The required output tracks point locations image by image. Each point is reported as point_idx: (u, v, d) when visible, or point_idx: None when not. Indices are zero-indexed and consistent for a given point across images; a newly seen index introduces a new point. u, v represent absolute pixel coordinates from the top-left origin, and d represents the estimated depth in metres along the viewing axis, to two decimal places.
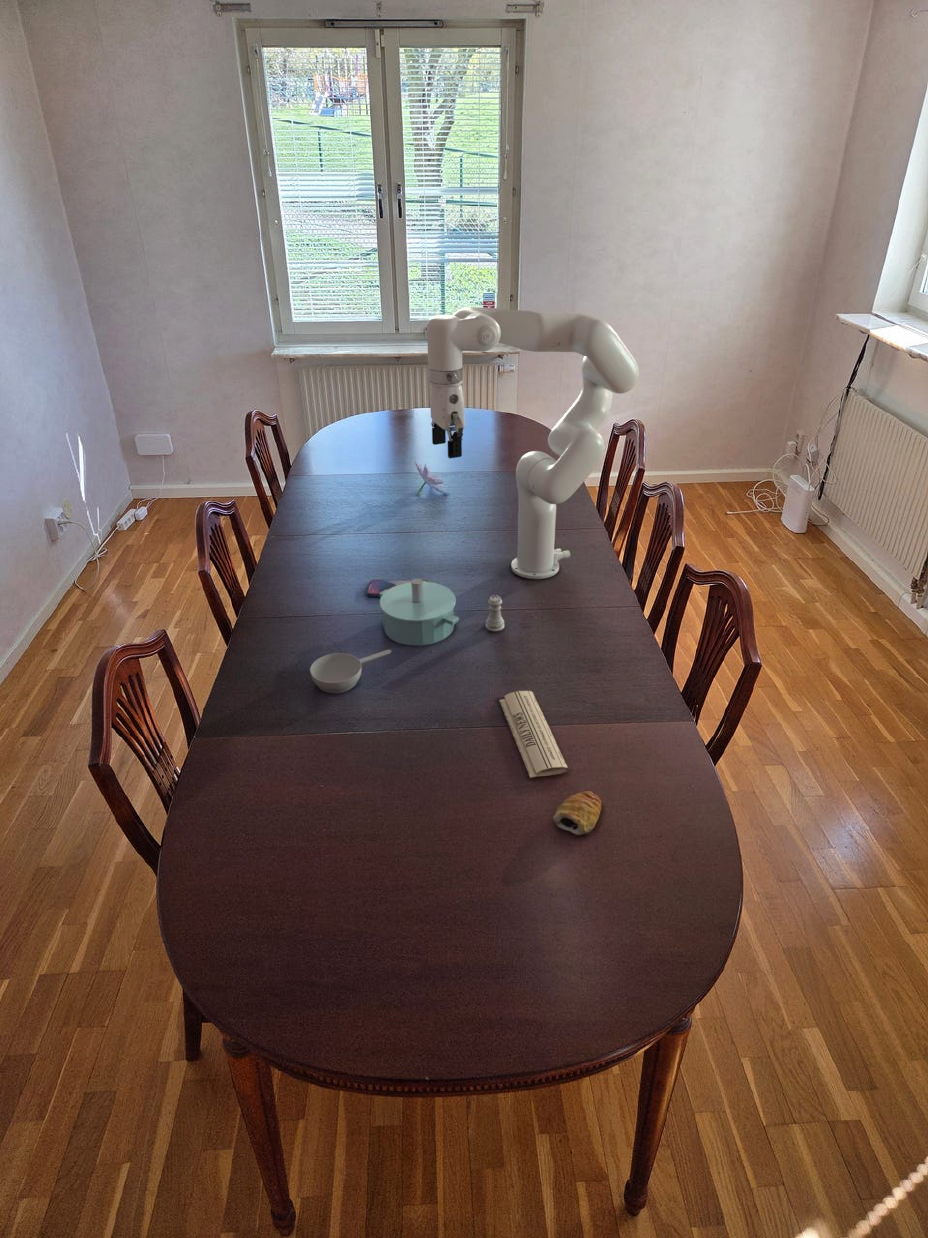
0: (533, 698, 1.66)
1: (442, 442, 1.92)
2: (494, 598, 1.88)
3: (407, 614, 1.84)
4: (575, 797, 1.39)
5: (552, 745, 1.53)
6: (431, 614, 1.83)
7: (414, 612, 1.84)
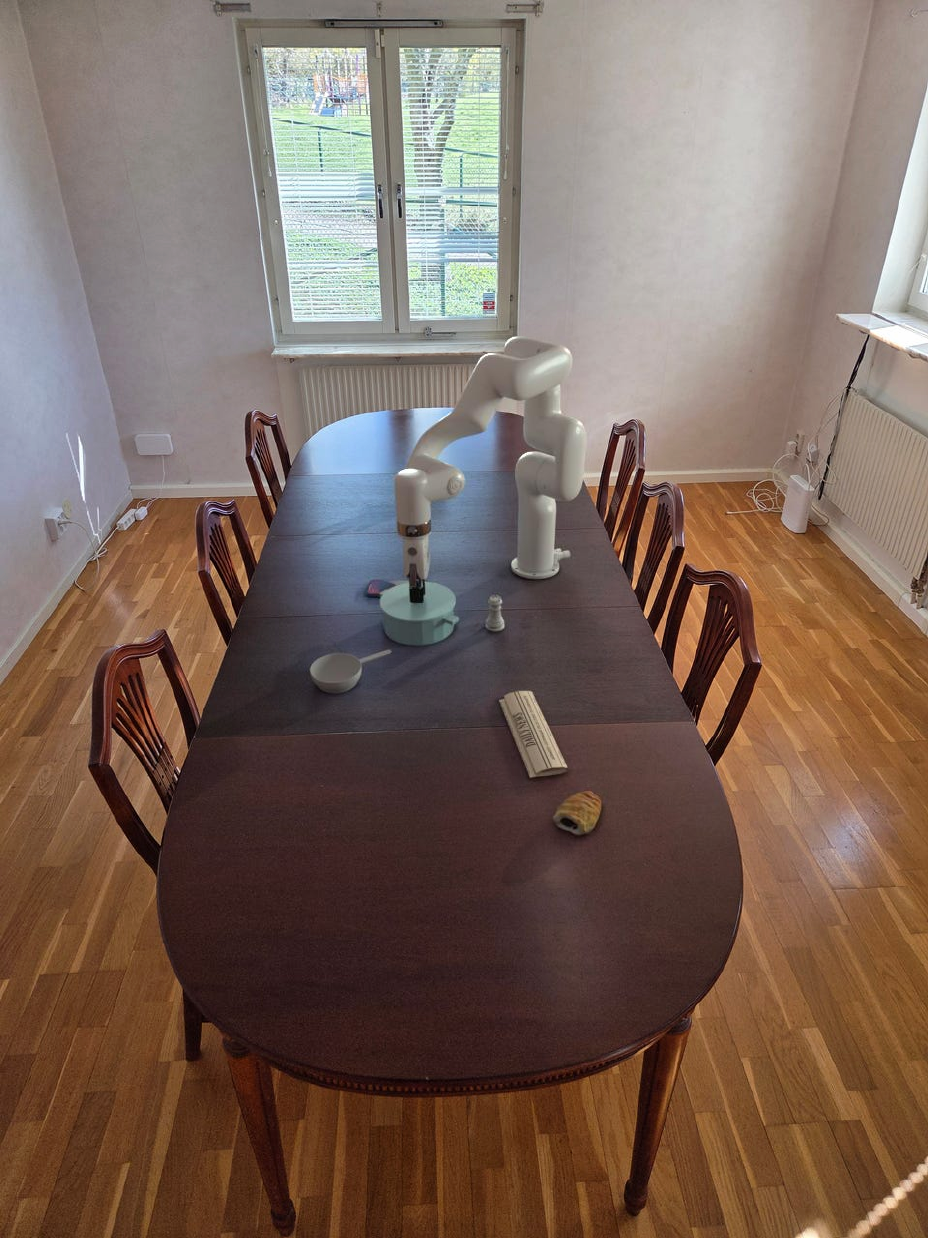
0: (533, 698, 1.66)
1: None
2: (494, 598, 1.88)
3: (407, 614, 1.84)
4: (575, 797, 1.39)
5: (552, 745, 1.53)
6: (431, 614, 1.83)
7: (414, 612, 1.84)
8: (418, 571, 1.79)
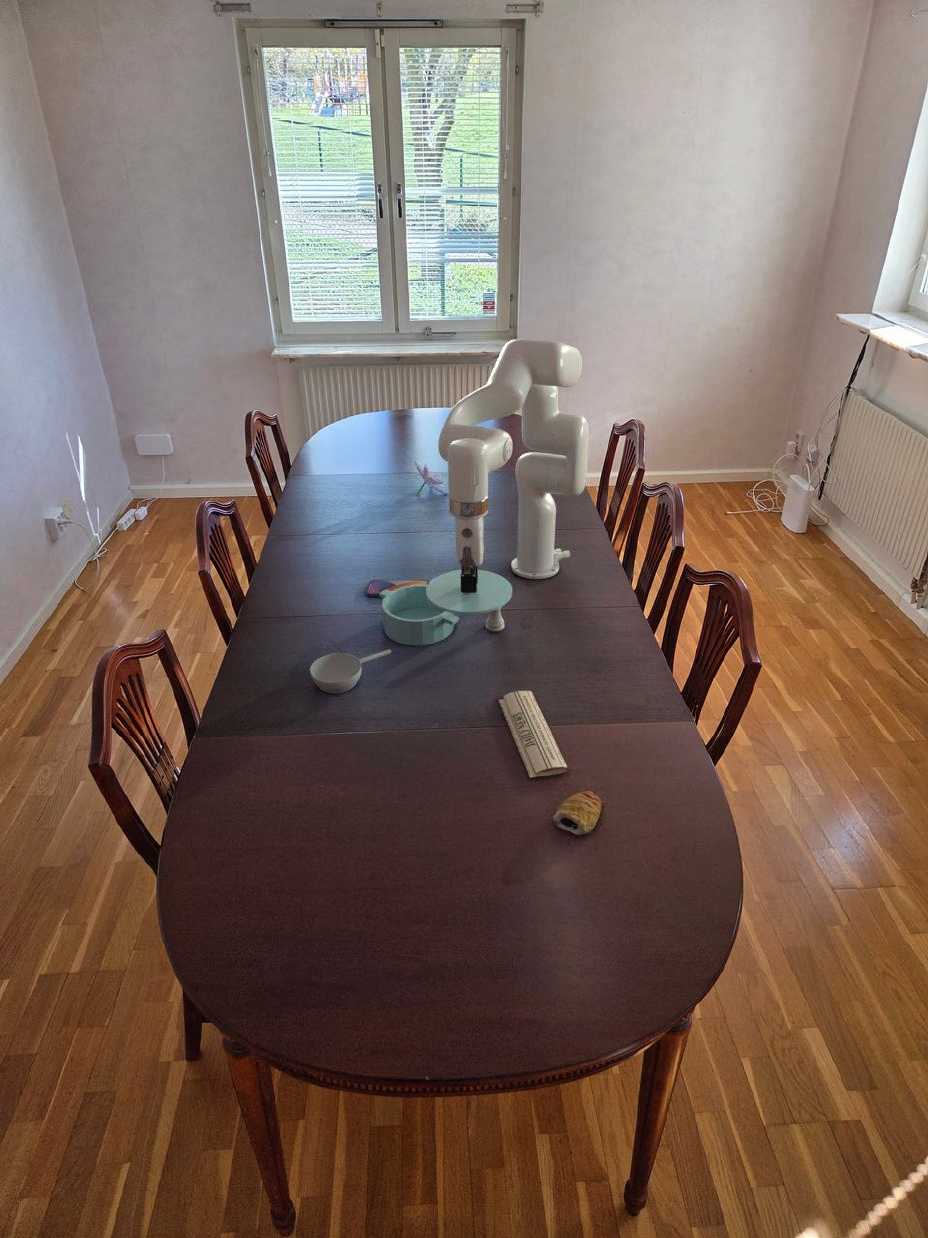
0: (532, 698, 1.66)
1: None
2: None
3: (459, 605, 1.61)
4: (575, 797, 1.39)
5: (552, 745, 1.53)
6: (486, 605, 1.61)
7: (466, 603, 1.62)
8: (473, 556, 1.57)
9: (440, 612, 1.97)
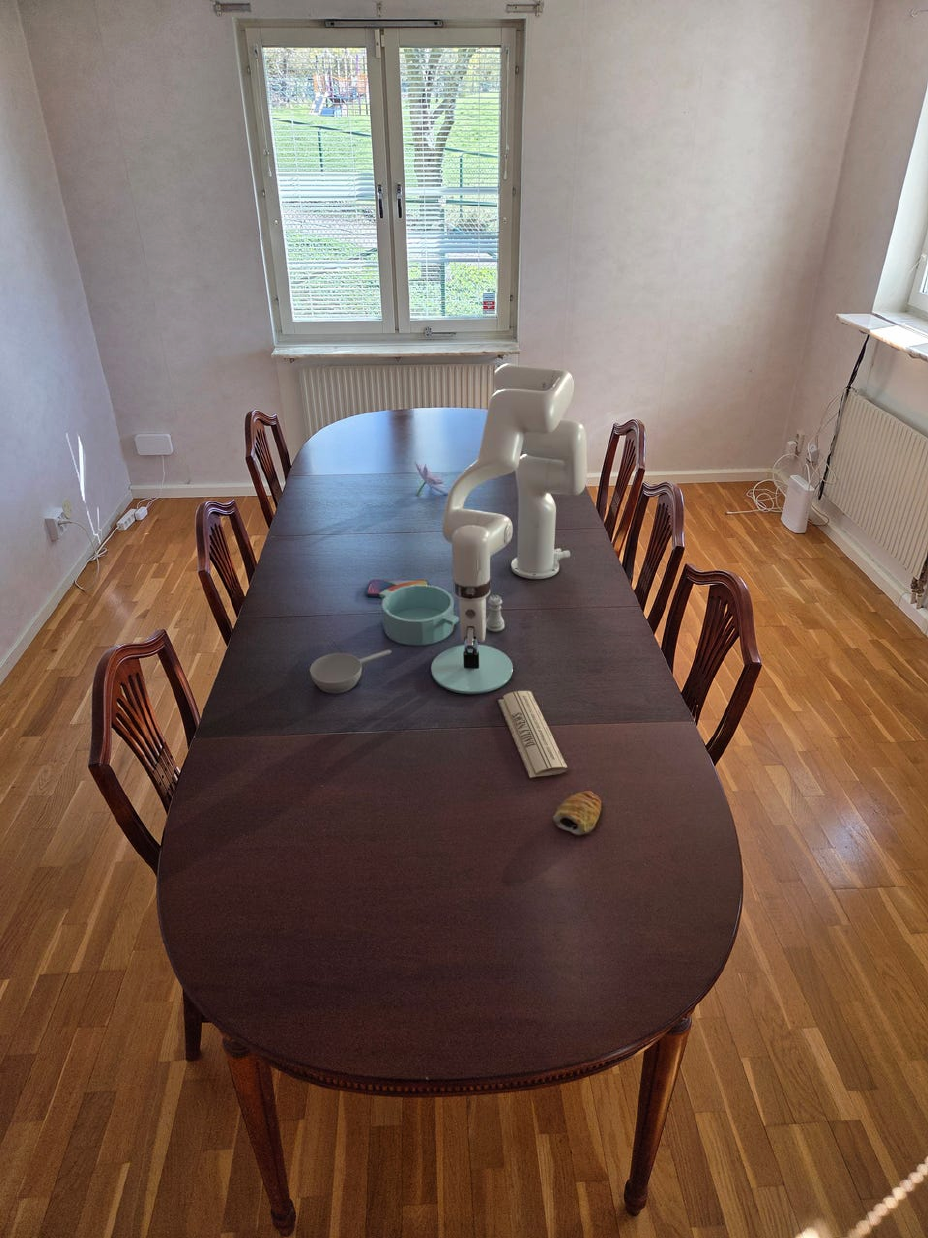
0: (532, 698, 1.66)
1: None
2: (494, 598, 1.88)
3: (462, 684, 1.71)
4: (575, 797, 1.39)
5: (551, 745, 1.53)
6: (488, 684, 1.70)
7: (469, 682, 1.71)
8: (476, 634, 1.66)
9: (440, 612, 1.97)
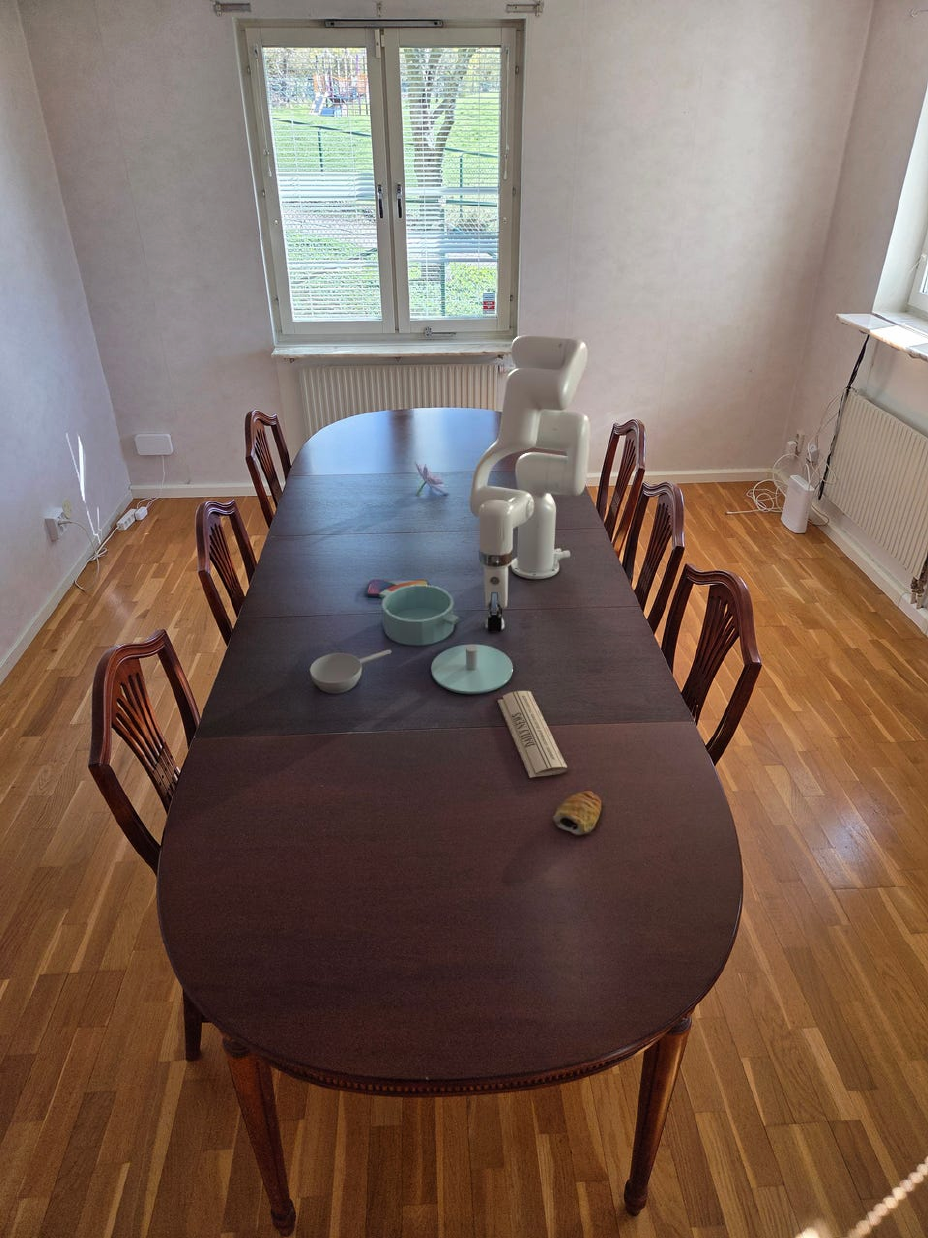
0: (531, 698, 1.66)
1: None
2: None
3: (462, 684, 1.71)
4: (575, 797, 1.39)
5: (551, 745, 1.53)
6: (488, 684, 1.70)
7: (469, 682, 1.71)
8: (499, 600, 1.82)
9: (440, 612, 1.97)
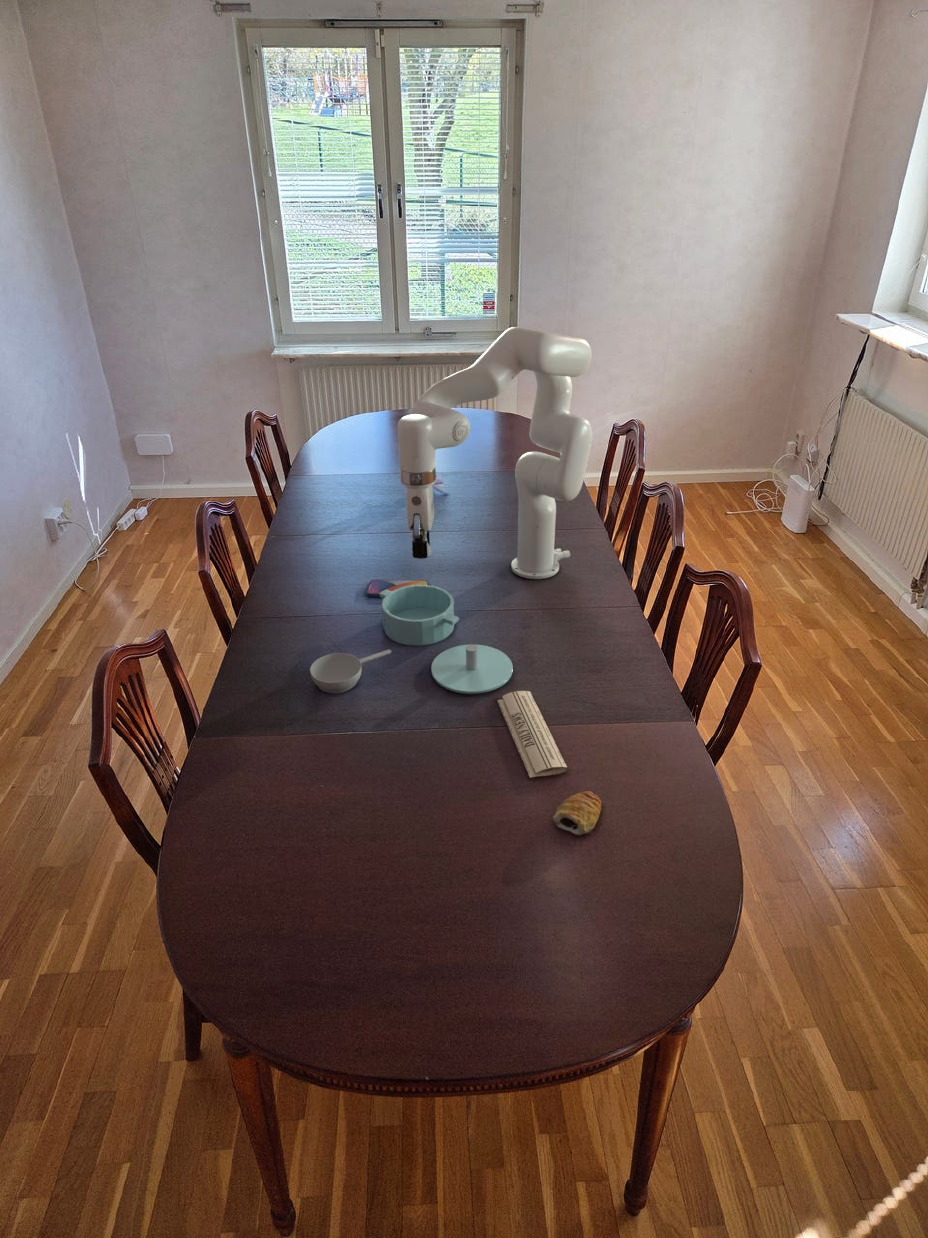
0: (531, 698, 1.66)
1: None
2: None
3: (462, 684, 1.71)
4: (575, 797, 1.39)
5: (551, 745, 1.53)
6: (488, 684, 1.70)
7: (469, 682, 1.71)
8: (422, 522, 1.73)
9: (440, 612, 1.97)
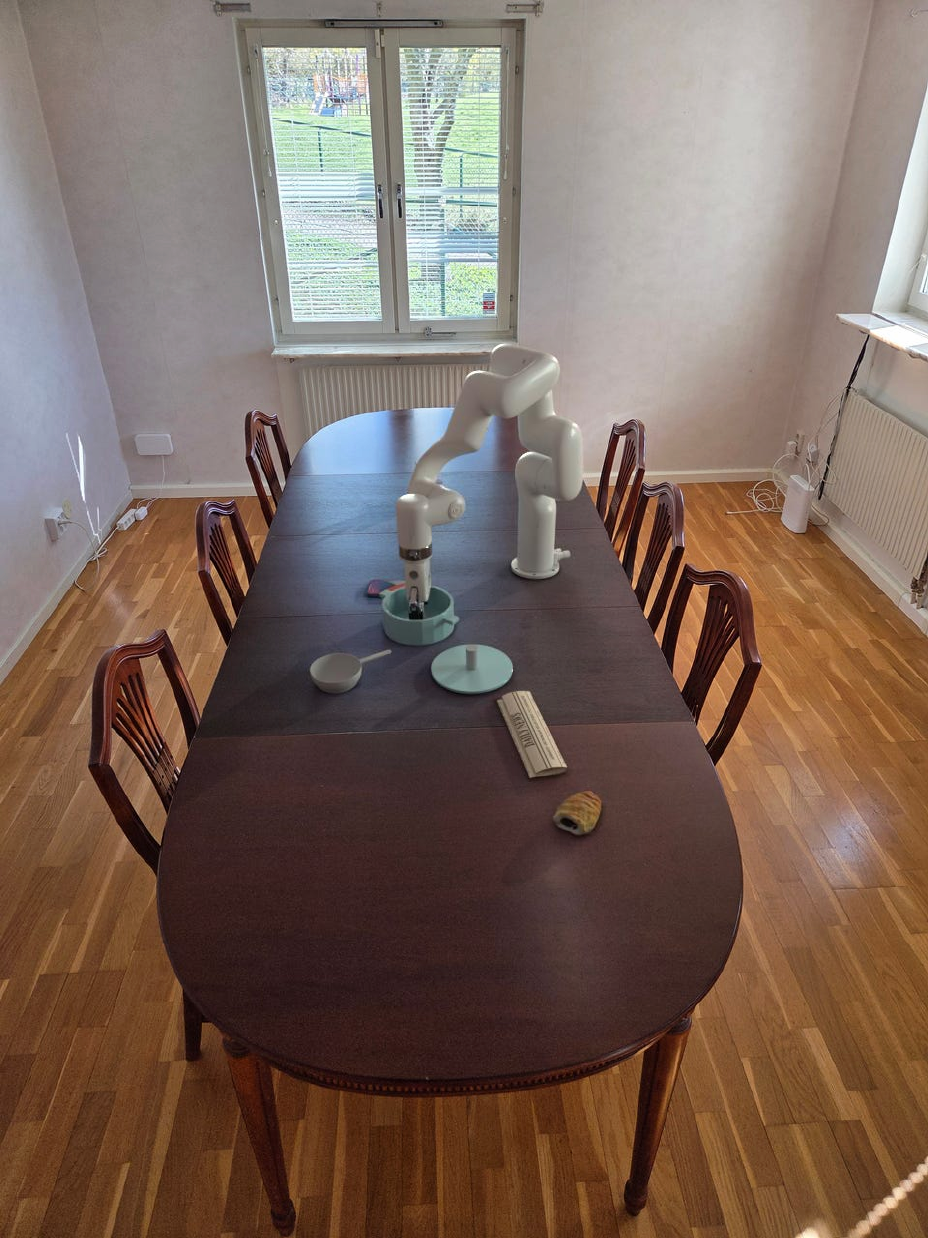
0: (531, 698, 1.66)
1: None
2: None
3: (462, 684, 1.71)
4: (575, 797, 1.39)
5: (551, 745, 1.53)
6: (488, 684, 1.70)
7: (469, 682, 1.71)
8: (419, 594, 1.82)
9: (440, 612, 1.97)
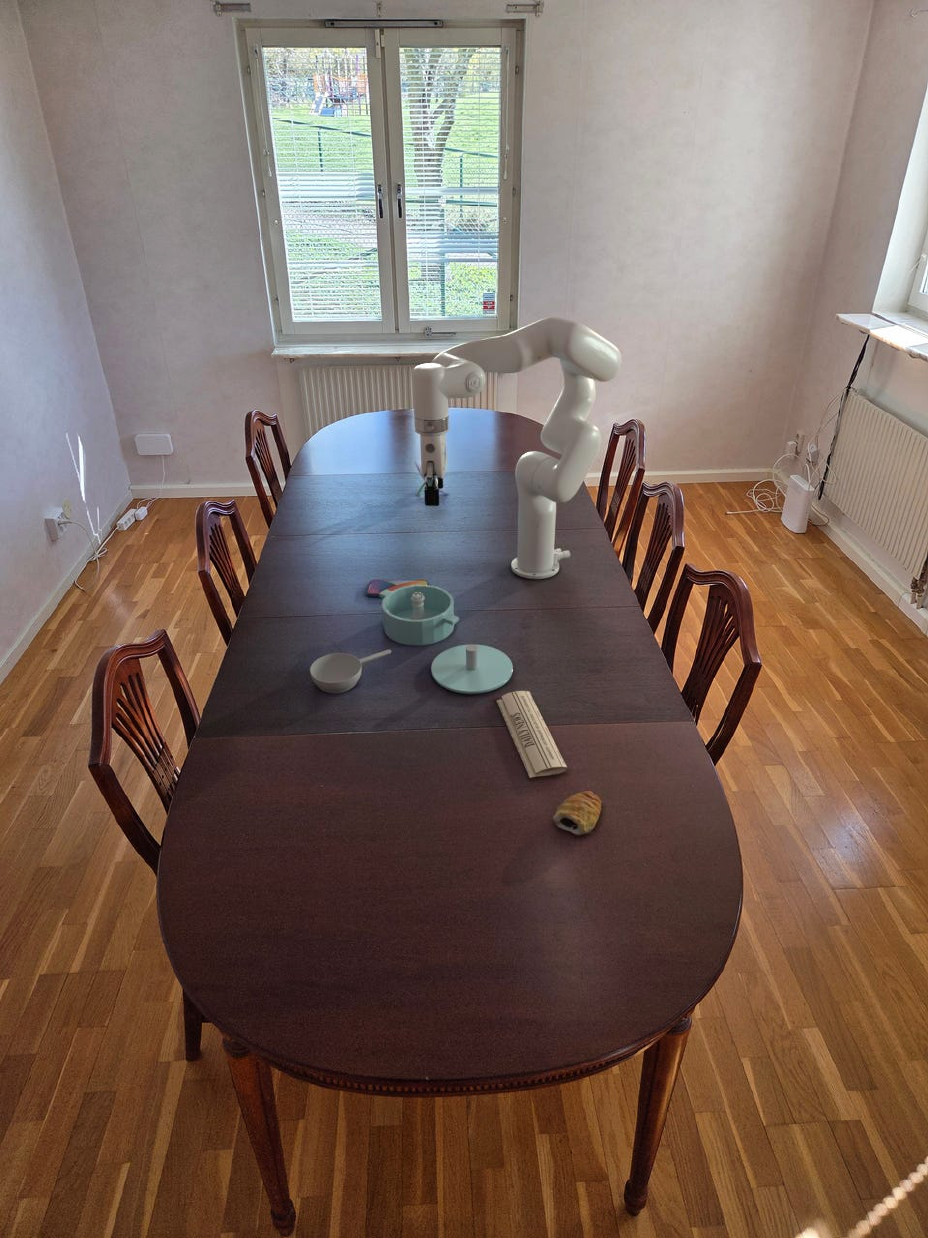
0: (530, 698, 1.66)
1: (439, 487, 1.90)
2: (417, 595, 1.89)
3: (462, 684, 1.71)
4: (575, 797, 1.39)
5: (551, 745, 1.53)
6: (488, 684, 1.70)
7: (469, 682, 1.71)
8: (436, 469, 1.78)
9: (440, 612, 1.97)
